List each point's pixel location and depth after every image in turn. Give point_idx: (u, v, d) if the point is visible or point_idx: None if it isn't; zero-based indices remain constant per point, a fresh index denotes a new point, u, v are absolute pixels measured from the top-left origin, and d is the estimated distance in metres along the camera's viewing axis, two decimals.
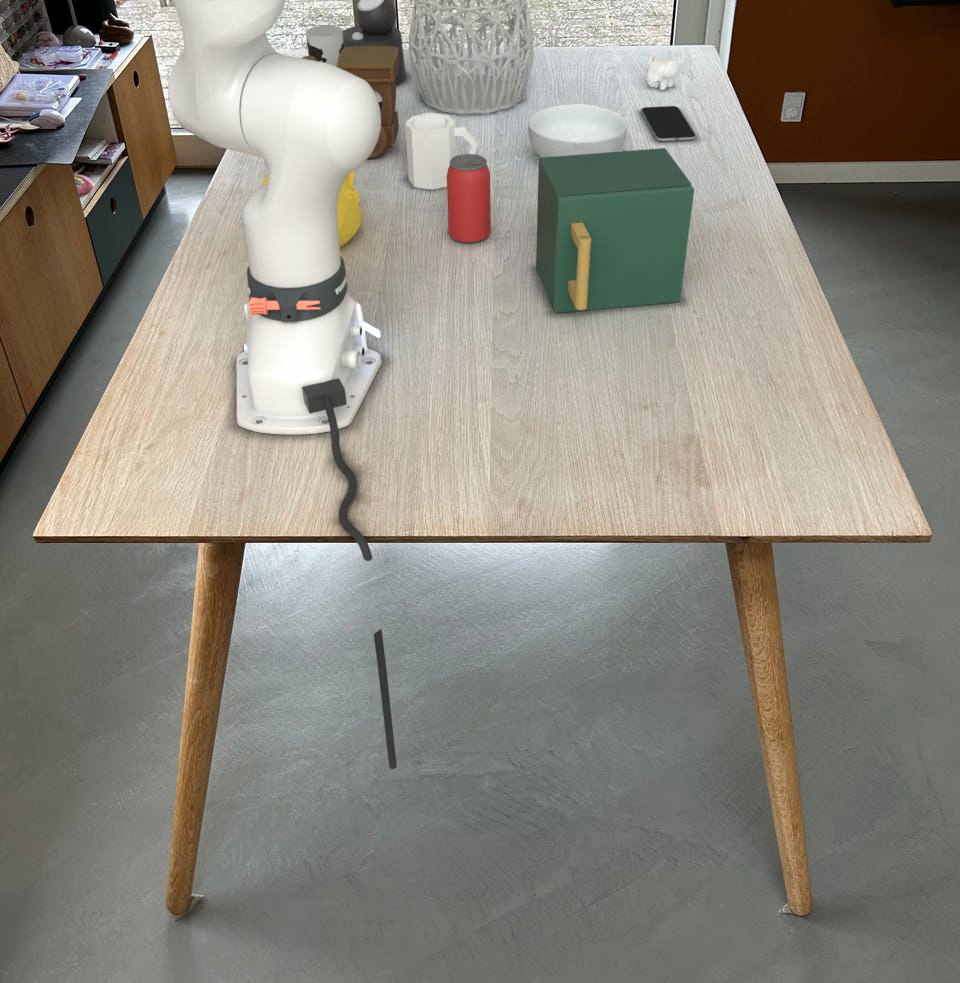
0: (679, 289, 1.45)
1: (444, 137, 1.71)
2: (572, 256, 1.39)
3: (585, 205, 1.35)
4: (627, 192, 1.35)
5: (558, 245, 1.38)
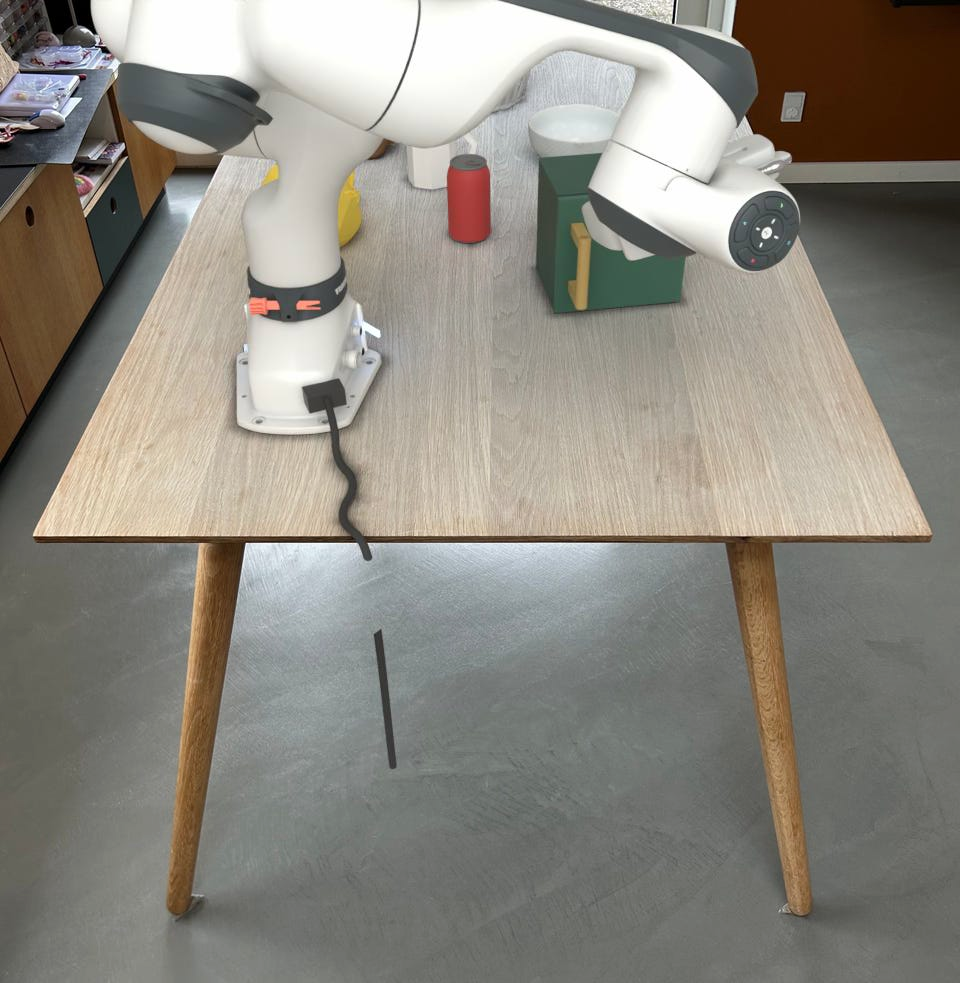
0: (679, 289, 1.45)
1: None
2: (572, 256, 1.39)
3: None
4: None
5: (558, 245, 1.38)
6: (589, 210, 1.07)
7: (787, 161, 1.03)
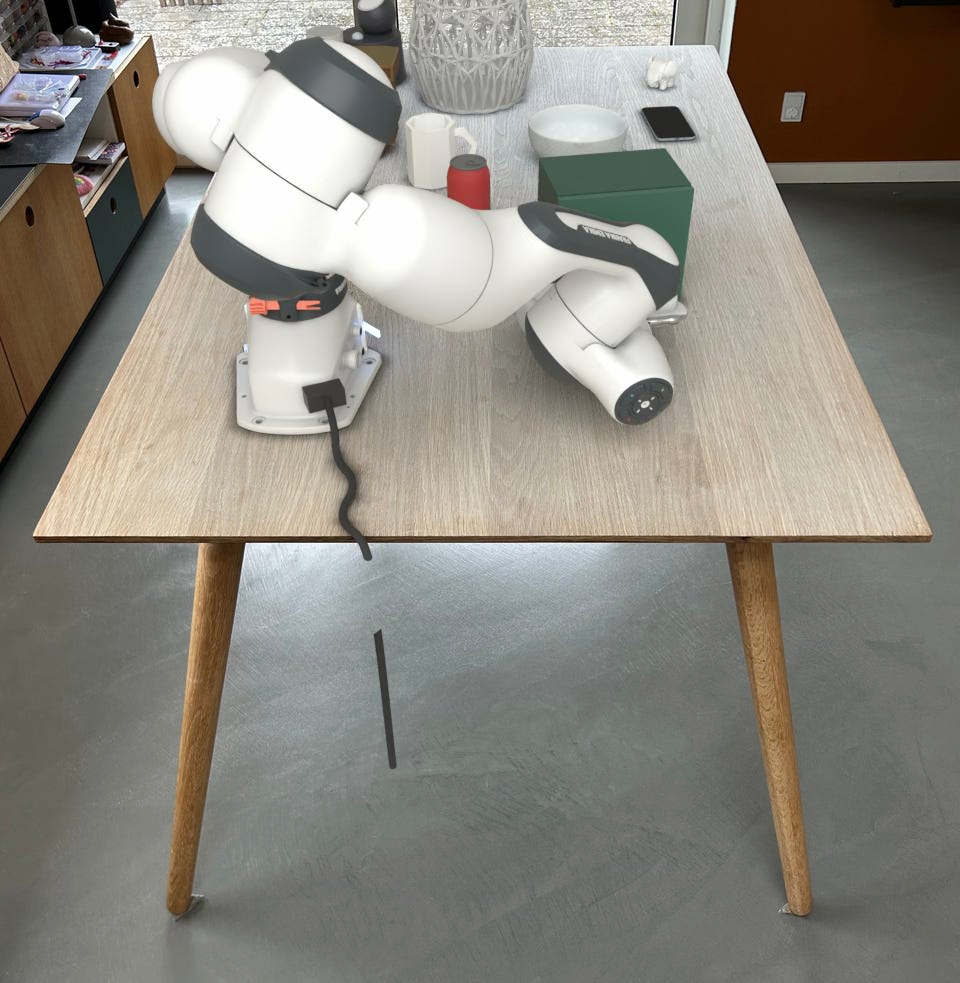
0: (679, 289, 1.45)
1: (444, 137, 1.71)
2: None
3: (585, 205, 1.35)
4: (627, 192, 1.35)
5: None
6: None
7: (683, 318, 1.27)
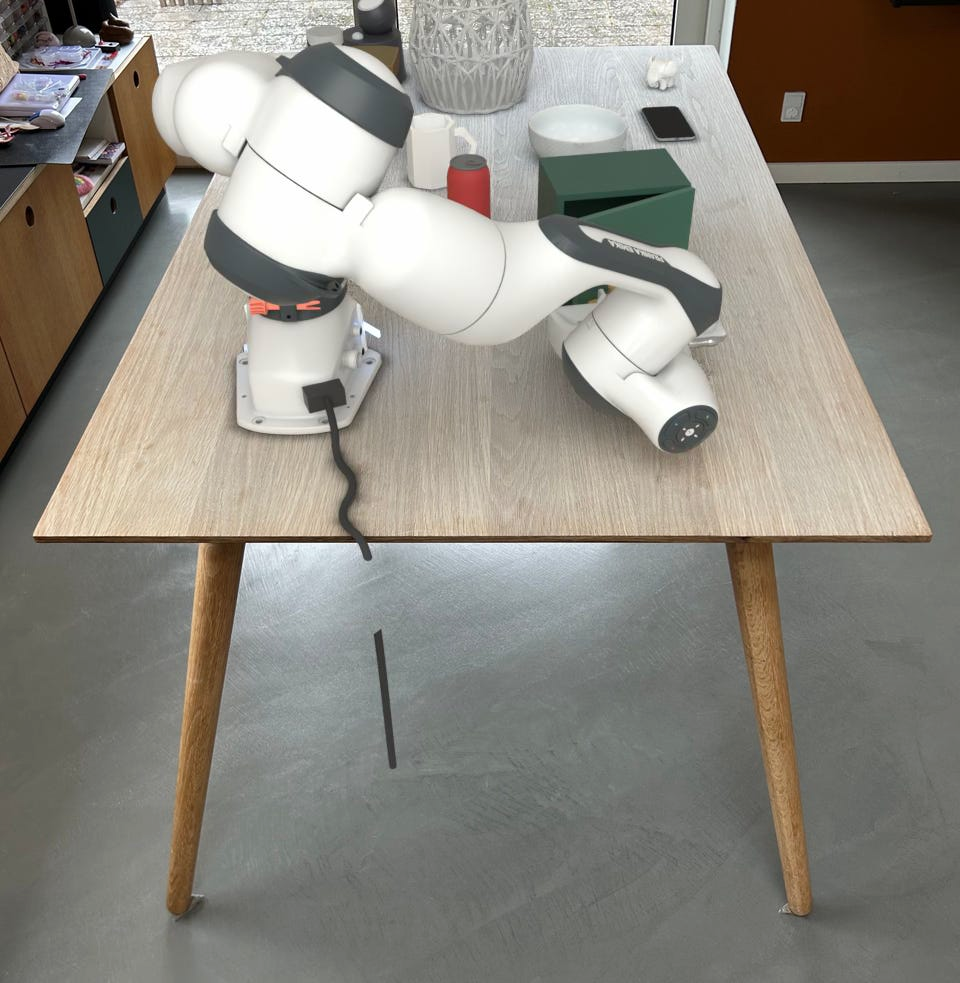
0: None
1: (444, 137, 1.71)
2: None
3: (603, 222, 1.31)
4: (638, 202, 1.33)
5: None
6: (555, 322, 1.24)
7: (722, 340, 1.24)
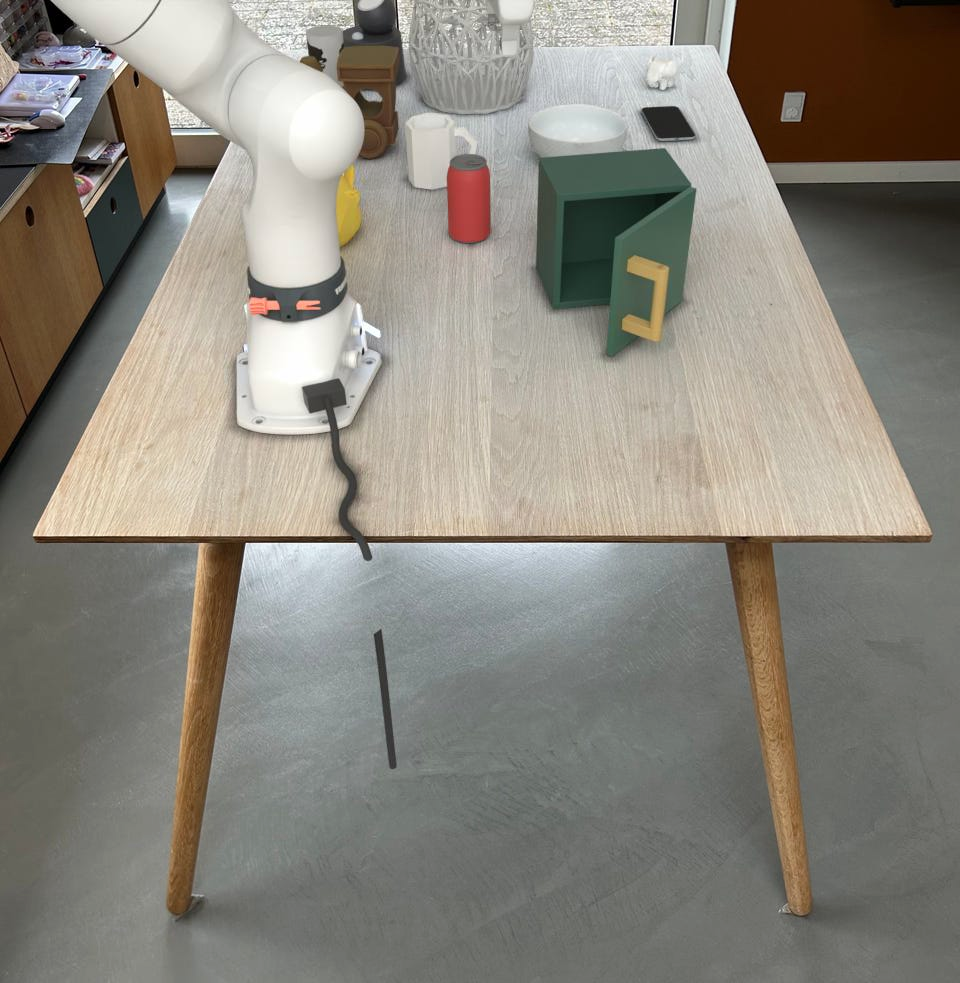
0: (682, 289, 1.45)
1: (444, 137, 1.71)
2: (626, 293, 1.32)
3: (636, 237, 1.28)
4: (658, 211, 1.31)
5: (618, 286, 1.30)
6: None
7: None
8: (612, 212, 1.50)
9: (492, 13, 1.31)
